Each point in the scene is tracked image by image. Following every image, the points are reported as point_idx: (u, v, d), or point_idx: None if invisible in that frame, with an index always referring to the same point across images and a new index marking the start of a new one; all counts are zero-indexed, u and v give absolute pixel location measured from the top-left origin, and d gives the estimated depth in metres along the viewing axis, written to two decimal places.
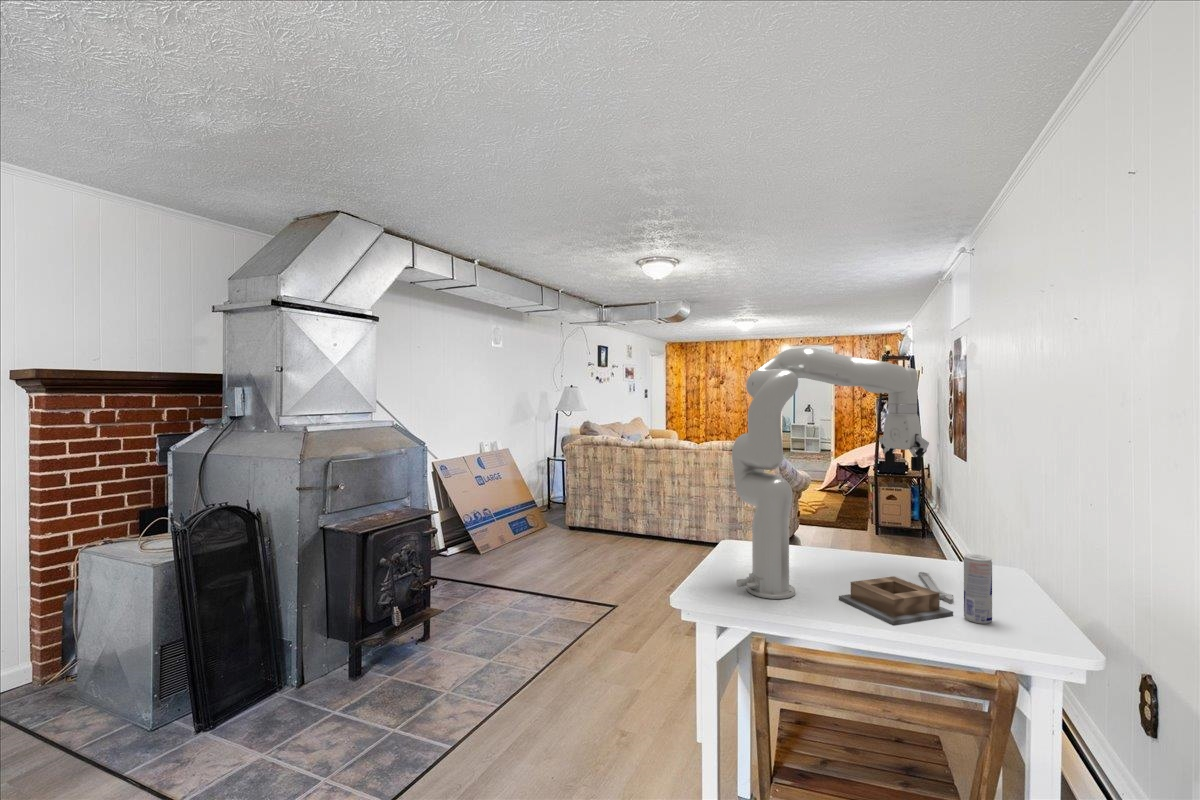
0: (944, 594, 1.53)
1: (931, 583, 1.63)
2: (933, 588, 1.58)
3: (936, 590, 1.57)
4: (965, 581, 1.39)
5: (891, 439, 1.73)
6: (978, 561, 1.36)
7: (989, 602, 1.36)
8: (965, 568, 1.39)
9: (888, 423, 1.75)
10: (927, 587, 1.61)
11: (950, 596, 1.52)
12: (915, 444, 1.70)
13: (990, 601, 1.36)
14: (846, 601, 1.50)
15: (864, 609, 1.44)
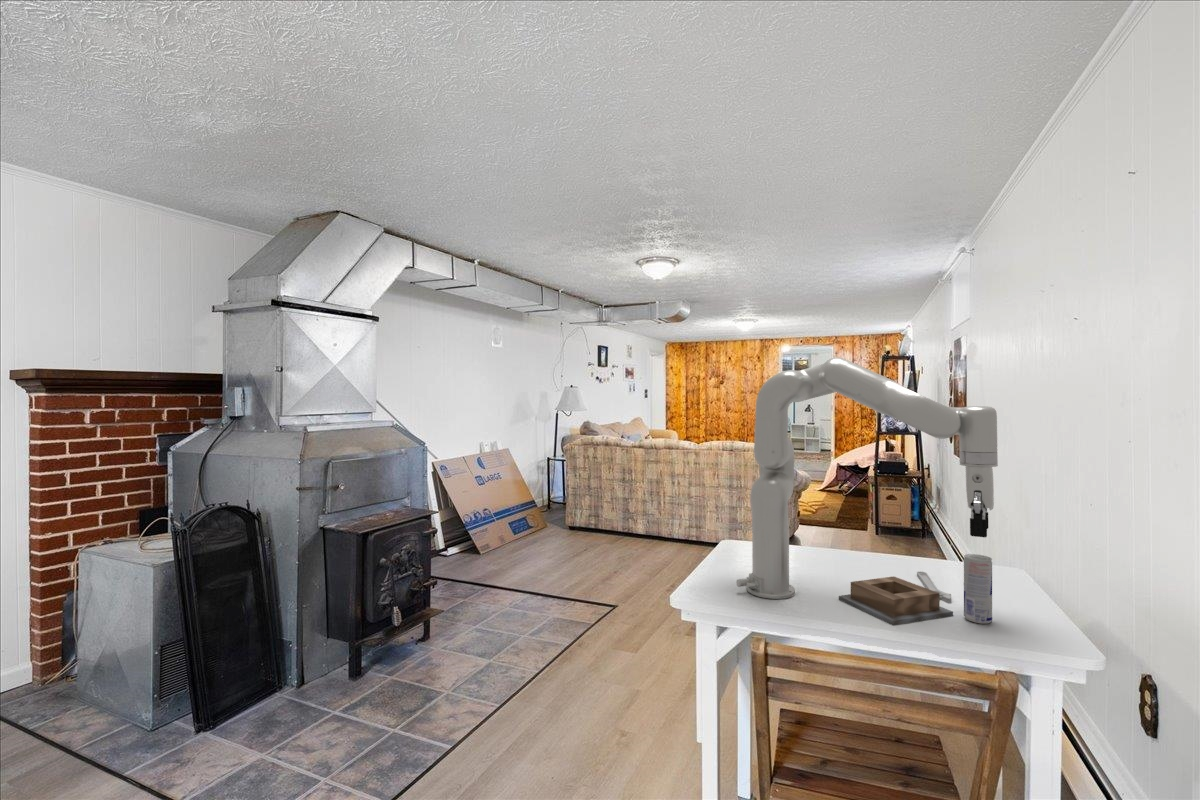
0: (942, 593, 1.54)
1: (929, 582, 1.63)
2: (931, 587, 1.59)
3: (934, 589, 1.57)
4: (965, 581, 1.39)
5: (993, 497, 1.36)
6: (978, 561, 1.36)
7: (989, 602, 1.36)
8: (965, 568, 1.39)
9: (992, 478, 1.35)
10: (925, 586, 1.62)
11: (948, 595, 1.52)
12: None
13: (990, 601, 1.36)
14: (846, 601, 1.50)
15: (864, 609, 1.44)
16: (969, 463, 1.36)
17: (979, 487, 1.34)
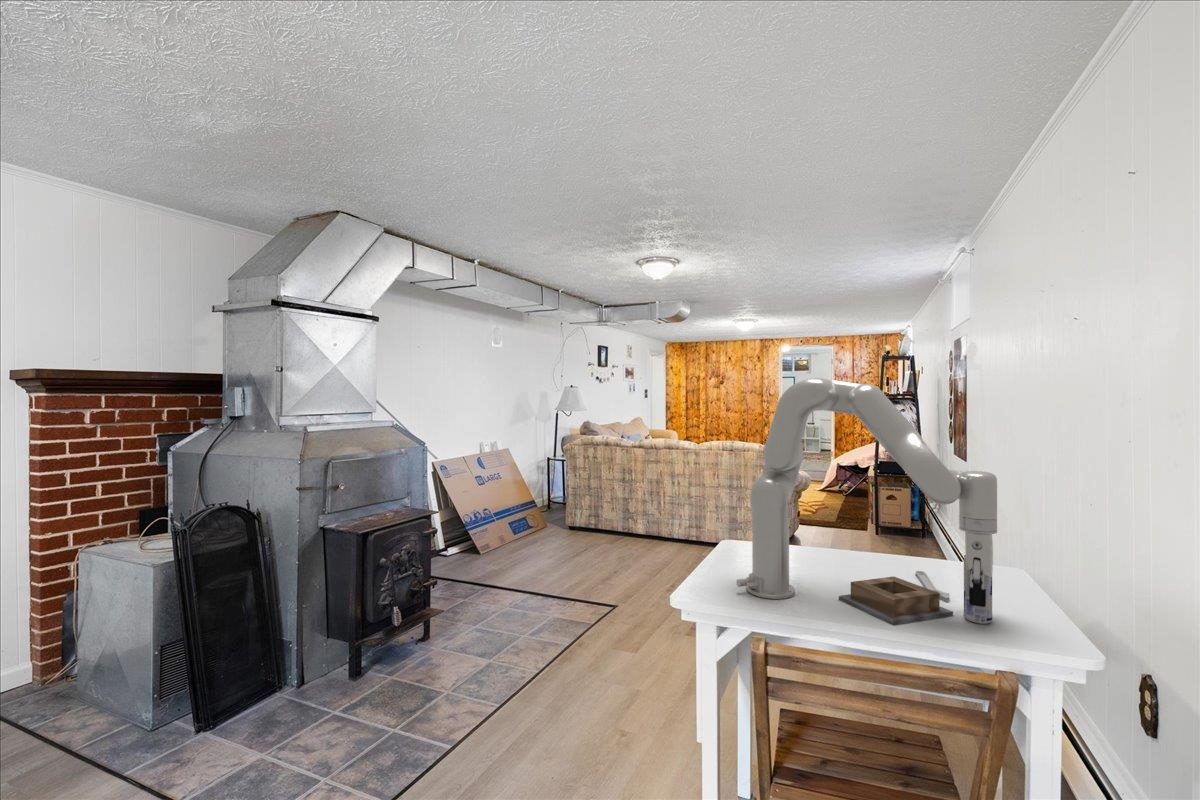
0: (940, 593, 1.54)
1: (928, 582, 1.64)
2: (929, 587, 1.59)
3: (932, 589, 1.58)
4: (965, 581, 1.39)
5: (992, 564, 1.36)
6: None
7: (989, 602, 1.36)
8: (965, 568, 1.39)
9: (991, 545, 1.35)
10: (924, 586, 1.62)
11: (946, 595, 1.53)
12: None
13: (990, 601, 1.36)
14: (846, 601, 1.50)
15: (864, 609, 1.44)
16: (969, 529, 1.37)
17: (978, 554, 1.34)
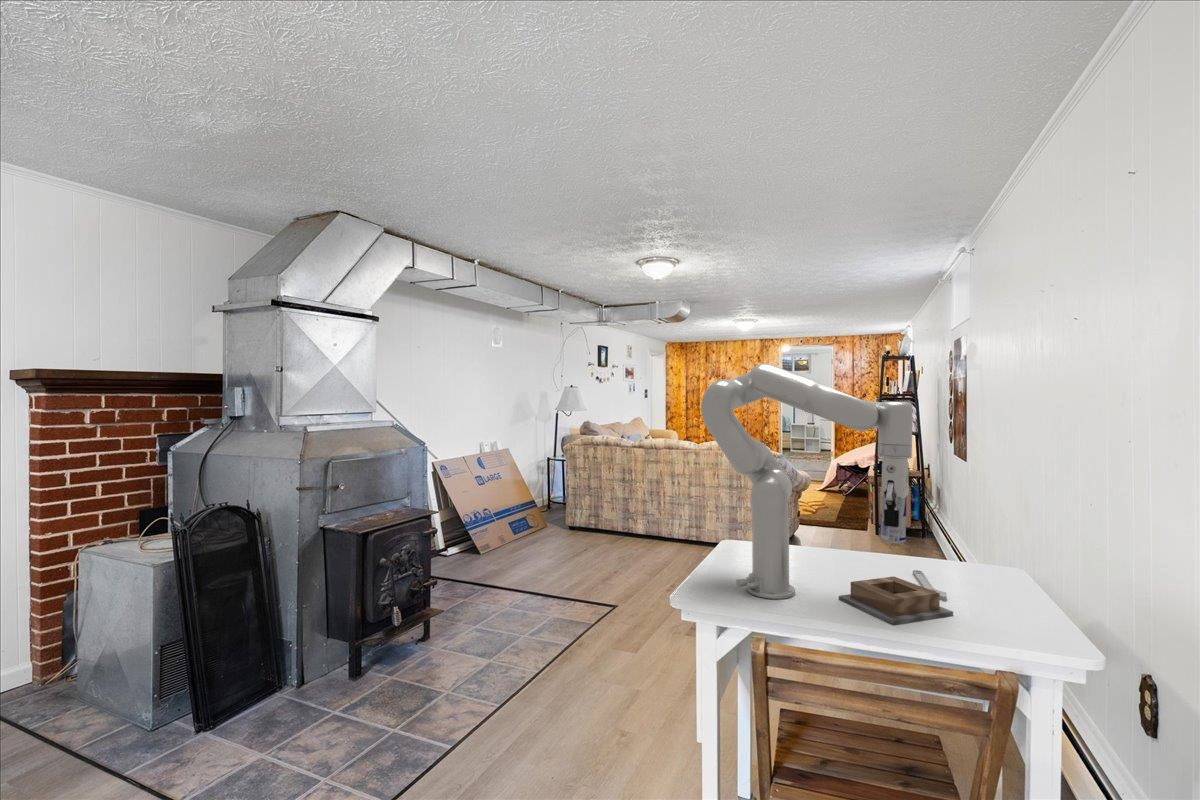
0: None
1: (925, 581, 1.65)
2: (927, 586, 1.60)
3: (930, 588, 1.58)
4: (882, 504, 1.47)
5: (905, 487, 1.44)
6: None
7: (902, 523, 1.44)
8: None
9: (904, 469, 1.43)
10: (921, 585, 1.63)
11: (943, 593, 1.53)
12: None
13: (903, 522, 1.45)
14: (846, 601, 1.50)
15: (864, 609, 1.44)
16: (885, 454, 1.45)
17: (892, 477, 1.43)
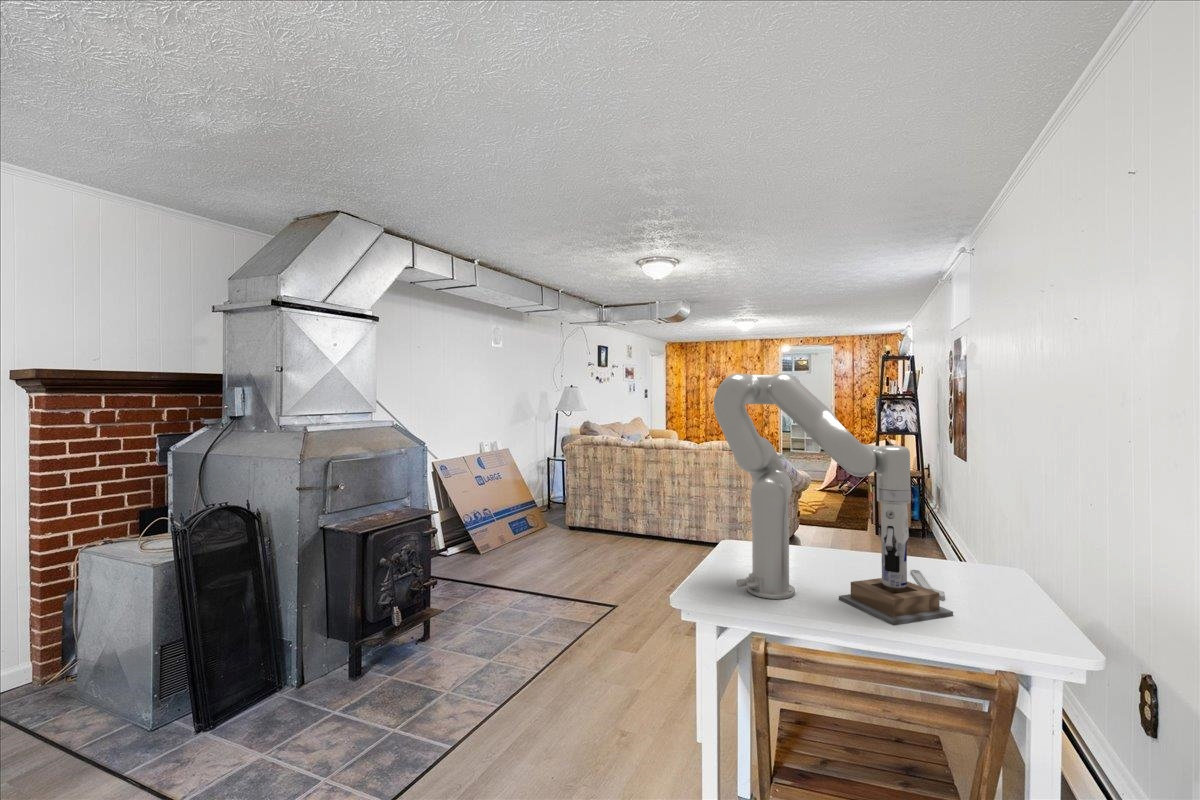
0: (936, 591, 1.56)
1: (923, 580, 1.65)
2: (925, 585, 1.61)
3: (928, 587, 1.59)
4: (882, 549, 1.47)
5: (905, 532, 1.44)
6: None
7: (903, 568, 1.44)
8: None
9: (904, 514, 1.43)
10: (919, 584, 1.63)
11: (941, 593, 1.54)
12: None
13: (904, 567, 1.45)
14: (846, 601, 1.50)
15: (864, 609, 1.44)
16: (884, 500, 1.45)
17: (891, 523, 1.43)
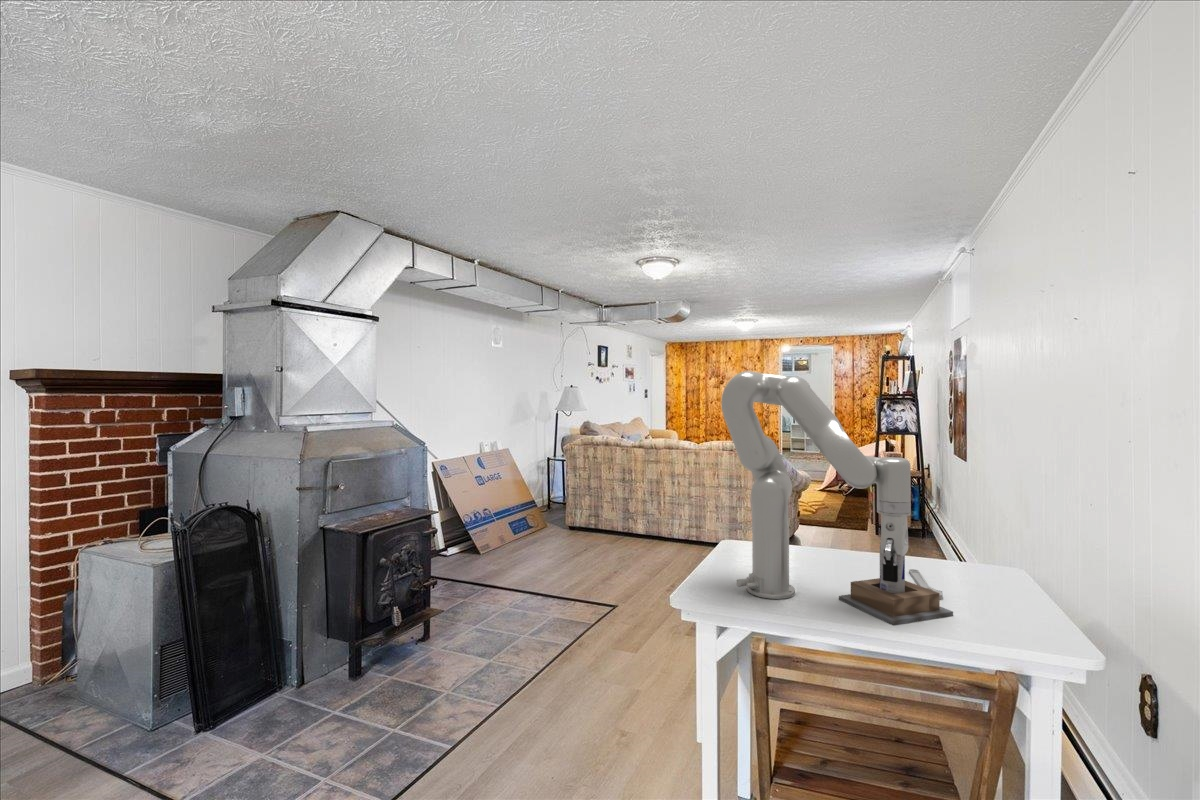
0: (933, 590, 1.56)
1: (921, 580, 1.66)
2: (923, 584, 1.61)
3: (926, 586, 1.60)
4: (880, 566, 1.47)
5: (905, 544, 1.44)
6: None
7: (901, 586, 1.45)
8: (880, 554, 1.47)
9: (904, 526, 1.43)
10: (917, 584, 1.64)
11: (939, 592, 1.55)
12: None
13: (902, 585, 1.45)
14: (846, 601, 1.50)
15: (864, 609, 1.44)
16: (884, 512, 1.45)
17: (891, 535, 1.43)
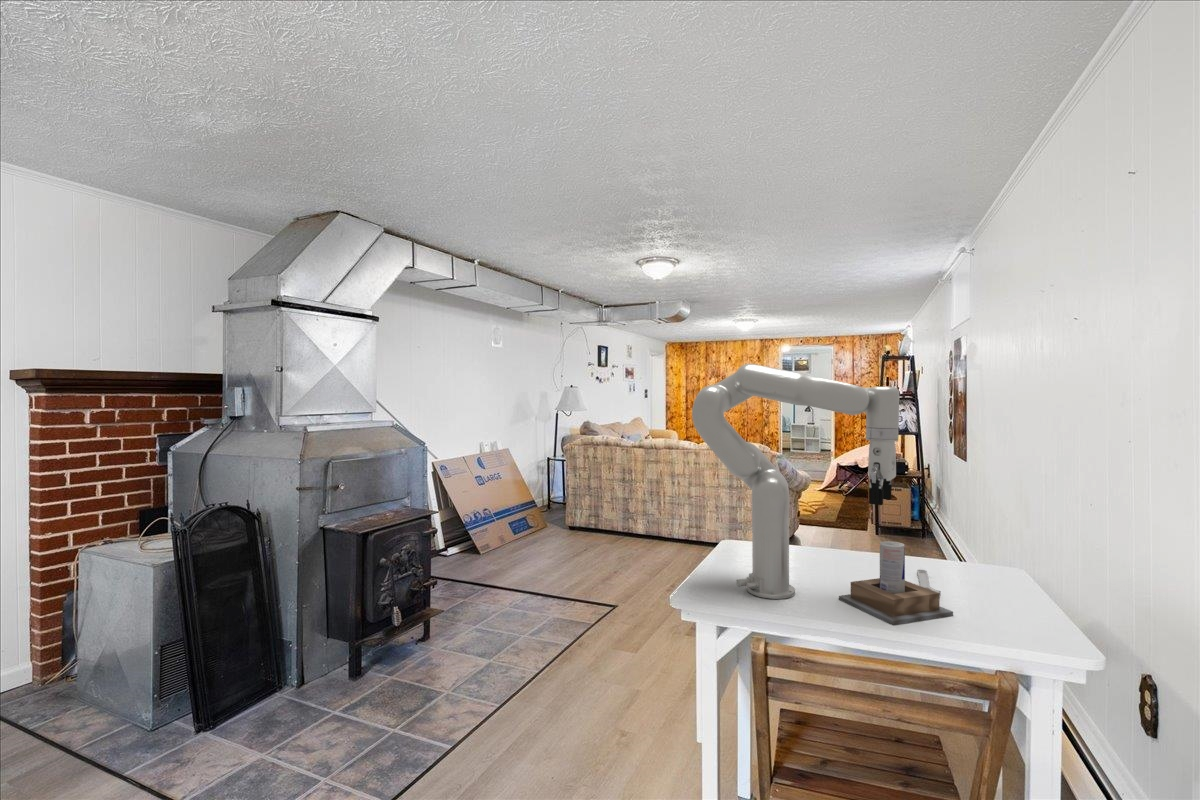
0: None
1: (924, 580, 1.66)
2: (924, 584, 1.62)
3: (926, 586, 1.60)
4: (880, 566, 1.47)
5: (891, 469, 1.48)
6: (891, 547, 1.45)
7: (901, 586, 1.45)
8: (880, 554, 1.47)
9: (890, 451, 1.47)
10: (919, 583, 1.64)
11: None
12: None
13: (902, 585, 1.45)
14: (846, 601, 1.50)
15: (864, 609, 1.44)
16: (872, 438, 1.49)
17: (878, 459, 1.47)
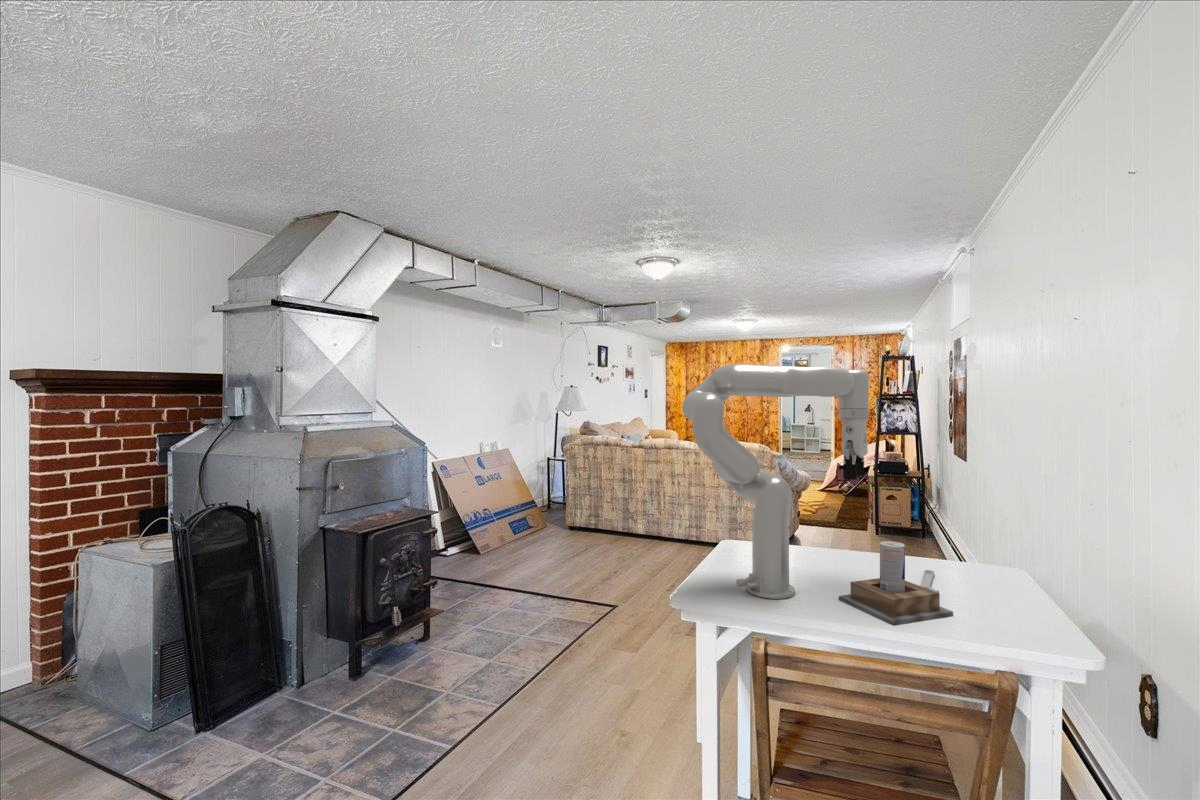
0: (930, 589, 1.57)
1: (928, 580, 1.66)
2: (924, 584, 1.62)
3: (926, 586, 1.60)
4: (880, 566, 1.47)
5: (863, 446, 1.60)
6: (891, 547, 1.45)
7: (901, 586, 1.45)
8: (880, 554, 1.47)
9: (862, 430, 1.59)
10: None
11: None
12: None
13: (902, 585, 1.45)
14: (846, 601, 1.50)
15: (864, 609, 1.44)
16: (844, 418, 1.61)
17: (851, 437, 1.58)
